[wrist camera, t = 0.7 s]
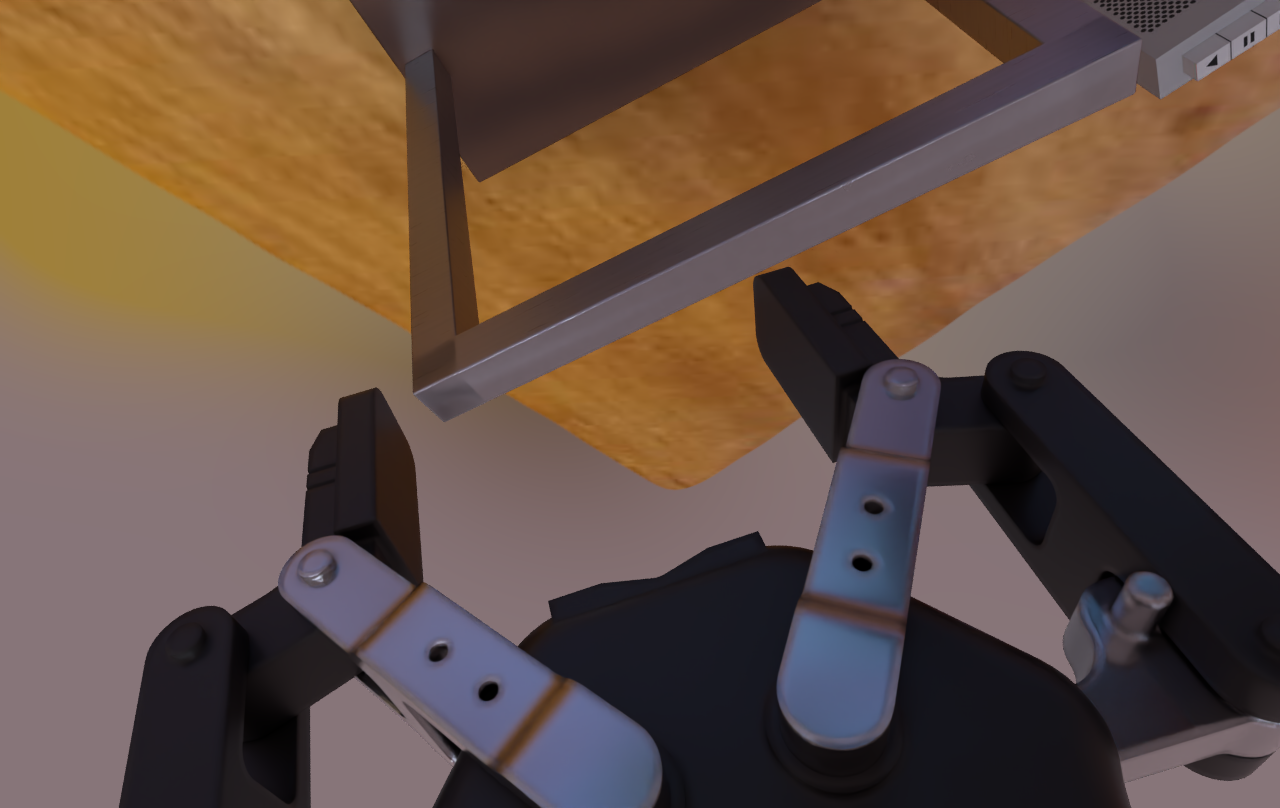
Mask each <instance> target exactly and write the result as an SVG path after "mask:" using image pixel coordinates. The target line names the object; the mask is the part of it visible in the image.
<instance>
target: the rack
mask: <svg viewBox="0 0 1280 808" xmlns="http://www.w3.org/2000/svg"><path fill="white" fill-rule="evenodd" d="M819 1H821V0H350V2H351V3H352V4H353V6H354V7H355V9H356V10H357V11H358V13H359V14H360V16H361V17H362V19H363V20H364V21H365V23H366V24H367V26H368V27H369V28H370V30H371V31H372V33H373V34H374V35H375V37H376V38H377V40H378V41H379V42H380V44H381V45H382V47H383V48H384V50H385V51H386V52H387V54H388V55H389V57H390V58H391V59H392V61H393V62H394V64H395V65H396V66H397V68H398V69H399V71H400V72H401V73H402V75H403V76H404V78H405V85H406V127H407V168H408V209H409V250H410V292H411V333H412V374H413V394H414V396H416V397H417V398H418V399H419V400H420V401H421V402H422V403H423V404H424V405H425V406H427V407H428V408H429V409H430V410H431V411H432V412H433V413H434V414H436V416H438V417H439V418H440V419H441V420H442V421H443V422H446V421H448V420H450V419H452V418H454V417H456V416H459V415H461V414H463V413H465V412H467V411H469V410H471V409H473V408H475V407H477V406H479V405H482V404H484V403H486V402H488V401H490V400H492V399H494V398H496V397H498V396H500V395H502V394H504V393H507V392H509V391H511V390H513V389H515V388H517V387H519V386H521V385H523V384H525V383H528V382H530V381H532V380H534V379H536V378H538V377H540V376H542V375H544V374H546V373H549V372H551V371H553V370H555V369H557V368H559V367H561V366H563V365H565V364H567V363H570V362H572V361H574V360H576V359H578V358H580V357H582V356H584V355H586V354H588V353H591V352H593V351H595V350H597V349H599V348H601V347H603V346H605V345H607V344H609V343H612V342H614V341H616V340H618V339H620V338H622V337H624V336H626V335H628V334H631V333H633V332H635V331H637V330H639V329H641V328H643V327H645V326H647V325H649V324H652V323H654V322H656V321H658V320H660V319H662V318H664V317H666V316H668V315H670V314H673V313H675V312H677V311H679V310H681V309H683V308H685V307H687V306H689V305H691V304H694V303H696V302H698V301H700V300H702V299H704V298H706V297H708V296H710V295H712V294H715V293H717V292H719V291H721V290H723V289H725V288H727V287H729V286H731V285H733V284H736V283H738V282H740V281H742V280H744V279H746V278H748V277H750V276H752V275H754V274H757V273H759V272H761V271H763V270H765V269H767V268H769V267H771V266H773V265H775V264H778V263H780V262H782V261H784V260H786V259H788V258H790V257H792V256H794V255H796V254H799V253H801V252H803V251H805V250H807V249H809V248H811V247H813V246H815V245H817V244H820V243H822V242H824V241H826V240H828V239H830V238H832V237H834V236H836V235H838V234H841V233H843V232H845V231H847V230H849V229H851V228H853V227H855V226H857V225H859V224H862V223H864V222H866V221H868V220H870V219H872V218H874V217H876V216H878V215H880V214H883V213H885V212H887V211H889V210H891V209H893V208H895V207H897V206H899V205H901V204H904V203H906V202H908V201H910V200H912V199H914V198H916V197H918V196H920V195H922V194H925V193H927V192H929V191H931V190H933V189H935V188H937V187H939V186H941V185H943V184H946V183H948V182H950V181H952V180H954V179H956V178H958V177H960V176H962V175H964V174H967V173H969V172H971V171H973V170H975V169H977V168H979V167H981V166H983V165H985V164H988V163H990V162H992V161H994V160H996V159H998V158H1000V157H1002V156H1004V155H1006V154H1009V153H1011V152H1013V151H1015V150H1017V149H1019V148H1021V147H1023V146H1025V145H1027V144H1030V143H1032V142H1034V141H1036V140H1038V139H1040V138H1042V137H1044V136H1046V135H1048V134H1051V133H1053V132H1055V131H1057V130H1059V129H1061V128H1063V127H1065V126H1067V125H1070V124H1072V123H1074V122H1076V121H1078V120H1080V119H1082V118H1084V117H1086V116H1089V115H1091V114H1093V113H1095V112H1097V111H1099V110H1101V109H1103V108H1105V107H1107V106H1110V105H1112V104H1114V103H1116V102H1118V101H1120V100H1122V99H1124V98H1126V97H1128V96H1131V95H1133V94H1134V93H1135V91H1136V84H1137V76H1138V68H1139V61H1140V53H1141V46H1142V39H1141V38H1140V37H1139V36H1137V35H1136V34H1134V33H1132V32H1131V31H1129V30H1127V29H1126V28H1124V27H1123V26H1121V25H1119V24H1118V23H1116V22H1115V21H1113V20H1111V19H1110V18H1108V17H1107V16H1105V15H1103V14H1102V13H1100V12H1099V11H1097V10H1095V9H1094V8H1092V7H1091V6H1089V5H1087V4H1086V3H1084V2H1082V1H1081V0H925V1H927V2H928V3H929V4H930V5H932V6H933V7H934V8H935V9H937V10H938V11H939V12H940V13H942V14H943V15H944V16H945V17H947V18H948V19H949V20H950V21H952V22H953V23H954V24H955V25H957V26H958V27H959V28H960V29H962V30H963V31H964V32H965V33H967V34H968V35H969V36H970V37H972V38H973V39H974V40H975V41H977V42H978V43H979V44H980V45H981V46H983V47H984V48H985V49H986V50H988V51H989V52H990V53H991V54H993V55H994V56H995V57H996V58H998V59H999V60H1000V61H1001V62H1003V63H1004V64H1002V65H1000V66H998V67H996V68H994V69H992V70H990V71H988V72H986V73H984V74H982V75H980V76H978V77H976V78H974V79H972V80H970V81H968V82H966V83H964V84H962V85H960V86H958V87H956V88H954V89H952V90H949V91H947V92H945V93H943V94H941V95H939V96H937V97H935V98H933V99H931V100H929V101H927V102H925V103H923V104H921V105H919V106H917V107H915V108H913V109H911V110H909V111H907V112H905V113H903V114H901V115H899V116H897V117H895V118H893V119H891V120H889V121H887V122H885V123H883V124H881V125H879V126H877V127H875V128H873V129H871V130H869V131H867V132H865V133H863V134H861V135H859V136H857V137H855V138H853V139H851V140H849V141H847V142H845V143H843V144H841V145H839V146H837V147H835V148H833V149H831V150H829V151H827V152H825V153H823V154H821V155H819V156H817V157H815V158H813V159H811V160H809V161H807V162H805V163H803V164H801V165H799V166H797V167H795V168H792V169H790V170H788V171H786V172H784V173H782V174H780V175H778V176H776V177H774V178H772V179H770V180H768V181H766V182H764V183H762V184H760V185H758V186H756V187H754V188H752V189H750V190H748V191H746V192H744V193H742V194H740V195H738V196H736V197H734V198H732V199H730V200H728V201H726V202H724V203H722V204H720V205H718V206H716V207H714V208H712V209H710V210H708V211H706V212H704V213H702V214H700V215H698V216H696V217H694V218H692V219H690V220H688V221H686V222H684V223H682V224H680V225H678V226H676V227H674V228H672V229H670V230H668V231H666V232H664V233H662V234H660V235H658V236H656V237H654V238H652V239H650V240H648V241H646V242H644V243H642V244H640V245H637V246H635V247H633V248H631V249H629V250H627V251H625V252H623V253H621V254H619V255H617V256H615V257H613V258H611V259H609V260H607V261H605V262H603V263H601V264H599V265H597V266H595V267H593V268H591V269H589V270H587V271H585V272H583V273H581V274H579V275H577V276H575V277H573V278H571V279H569V280H567V281H565V282H563V283H561V284H559V285H557V286H555V287H553V288H551V289H549V290H547V291H545V292H543V293H541V294H539V295H537V296H535V297H533V298H531V299H529V300H527V301H525V302H523V303H521V304H519V305H517V306H515V307H513V308H511V309H509V310H507V311H505V312H503V313H501V314H499V315H497V316H495V317H493V318H491V319H489V320H487V321H485V322H483V323H480V324H479V319H478V310H477V301H476V293H475V284H474V275H473V266H472V258H471V249H470V240H469V231H468V223H467V214H466V205H465V196H464V188H463V179H462V170H461V162H460V156H461V158H462V159H463V161H464V162H465V164H466V165H467V166H468V168H469V169H470V171H471V172H472V173H473V175H474V176H475V178H476V179H477V180H478V182H482V181H483V180H485V179H487V178H489V177H491V176H493V175H495V174H497V173H498V172H500V171H502V170H504V169H506V168H508V167H510V166H512V165H513V164H515V163H517V162H519V161H521V160H523V159H525V158H527V157H528V156H530V155H532V154H534V153H536V152H538V151H540V150H542V149H543V148H545V147H547V146H549V145H551V144H553V143H555V142H557V141H558V140H560V139H562V138H564V137H566V136H568V135H570V134H572V133H573V132H575V131H577V130H579V129H581V128H583V127H585V126H587V125H589V124H590V123H592V122H594V121H596V120H598V119H600V118H602V117H604V116H605V115H607V114H609V113H611V112H613V111H615V110H617V109H619V108H620V107H622V106H624V105H626V104H628V103H630V102H632V101H634V100H635V99H637V98H639V97H641V96H643V95H645V94H647V93H649V92H650V91H652V90H654V89H656V88H658V87H660V86H662V85H664V84H665V83H667V82H669V81H671V80H673V79H675V78H677V77H679V76H680V75H682V74H684V73H686V72H688V71H690V70H692V69H694V68H695V67H697V66H699V65H701V64H703V63H705V62H707V61H709V60H711V59H712V58H714V57H716V56H718V55H720V54H722V53H724V52H726V51H727V50H729V49H731V48H733V47H735V46H737V45H739V44H741V43H742V42H744V41H746V40H748V39H750V38H752V37H754V36H756V35H757V34H759V33H761V32H763V31H765V30H767V29H769V28H771V27H772V26H774V25H776V24H778V23H780V22H782V21H784V20H786V19H787V18H789V17H791V16H793V15H795V14H797V13H799V12H801V11H802V10H804V9H806V8H808V7H810V6H812V5H814V4H816V3H817V2H819Z"/></svg>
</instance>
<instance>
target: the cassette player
mask: <svg viewBox="0 0 1280 808" xmlns="http://www.w3.org/2000/svg"><path fill="white" fill-rule="evenodd" d="M1081 1H1082V2H1084V3H1086V4H1087V5H1089V6H1091V7H1092V8H1094V9H1095V10H1097V11H1099V12H1100V13H1102V14H1103V15H1105V16H1107V17H1108V18H1110V19H1111V20H1113V21H1115V22H1116V23H1118V24H1119V25H1121V26H1123V27H1124V28H1126V29H1127V30H1129V31H1131V32H1132V33H1134V34H1136V35H1137V36H1139V37H1140V38H1141V39H1142V46H1141V53H1140V61H1139V68H1138V76H1137V84H1139V85H1140V86H1142V87H1143V88H1145V89H1146V90H1147V91H1149V92H1150V93H1152V94H1153V95H1155V96H1156V97H1158V98H1159V99H1162V98H1164V97H1165V96H1167V95H1168V94H1170V93H1171V92H1173V91H1174V90H1176V89H1178V88H1179V87H1181V86H1182V85H1184V84H1185V83H1187V82H1188V81H1190V80H1192V79H1195V80H1196V81H1199V80H1200V79H1202V78H1204V77H1205V76H1207V75H1208V74H1210V73H1211V72H1213V71H1214V70H1216V69H1218V68H1219V67H1221V66H1222V65H1224V64H1225V63H1227V62H1229V61H1230V60H1232V59H1233V58H1235V57H1236V56H1238V55H1240V54H1241V53H1243V52H1244V51H1246V50H1247V49H1249V48H1250V47H1252V46H1254V45H1255V44H1257V43H1258V42H1260V41H1261V40H1263V39H1265V38H1266V37H1268V36H1269V35H1271V34H1272V33H1274V32H1276V31H1277V30H1279V29H1280V0H1081Z"/></svg>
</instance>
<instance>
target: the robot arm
mask: <svg viewBox="0 0 1280 808" xmlns="http://www.w3.org/2000/svg"><path fill="white" fill-rule="evenodd" d="M753 290H754V307H755V324H756V337H757V342H758V346H759V349H760V352H761V355H762V357H763V359H764V361H765V363H766V364H767V366H768V367H769V369H770V370H771V372H772V373H773V374H774V376H775V377H776V379H777V380H778V382H779V383H780V385H781V386H782V388H783V389H784V391H785V392H786V394H787V395H788V397H789V398H790V400H791V401H792V403H793V404H794V406H795V407H796V409H797V410H798V412H799V413H800V415H801V416H802V418H803V419H804V421H805V422H806V424H807V425H808V427H809V428H810V430H811V431H812V433H813V434H814V436H815V437H816V439H817V440H818V442H819V443H820V444H821V446H822V448H823V449H824V451H825V452H826V454H827V455H828V457H829V458H830V459H831V461H832V462H833V463H834V462H837V463H836V467H835V470H834V475H833V478H832V482H831V486H830V490H829V494H828V497H827V502H826V505H825V509H824V513H823V517H822V520H821V524H820V528H819V532H818V536H817V540H816V543H815V547H814V551H813V550H809V549H805V548H800V547H793V546H765V544H764V542H763V540H762V538H761V536H760V534H759V532H758V531H757V532H754V533H751V534H748V535H745V536H742V537H739V538H736V539H733V540H730V541H727V542H724V543H721V544H718V545H715V546H712V547H709V548H707V549H705V550H704V551H702V552H700V553H699V554H697V555H695V556H694V557H692V558H690V559H689V560H687V561H686V562H684V563H682V564H681V565H679V566H677V567H676V568H674V569H672V570H671V571H669V572H667V573H666V574H664V575H662V576H660V577H657V578H651V579H641V580H630V581H621V582H610V583H601V584H598V585H595V586H592V587H589V588H586V589H583V590H580V591H577V592H574V593H571V594H568V595H565V596H562V597H559V598H556V599H553V600H550V601H548V602H549V607H550V612H551V616H552V618H550V619H549V620H547V621H545V622H544V623H542V624H541V625H540V626H539V627H537V628H536V629H535V630H533V631H532V632H531V633H530V634H529V635H528V636H527V637H526V638H525V639H524V640H523V641H522V642H521V643H520V644H519V646H516V645H515V644H513V643H512V642H510V641H509V640H508V639H506V638H505V637H503V636H502V635H500V634H499V633H498V632H496V631H494V630H493V629H492V628H490V627H489V626H488V625H486V624H485V623H483V622H482V621H480V620H479V619H478V618H476V617H475V616H473V615H472V614H470V613H469V612H468V611H466V610H464V609H463V608H462V607H460V606H459V605H457V604H456V603H455V602H453V601H452V600H450V599H449V598H447V597H446V596H445V595H443V594H442V593H440V592H439V591H438V590H436V589H435V588H433V587H432V586H430V585H428V584H426V583H424V582H423V569H422V556H421V541H420V527H419V513H418V499H417V486H416V472H415V463H414V459H413V455H412V452H411V449H410V446H409V444H408V441H407V440H406V437H405V435H404V434H403V432H402V430H401V428H400V426H399V424H398V423H397V420H396V418H395V417H394V415H393V413H392V411H391V409H390V407H389V405H388V403H387V401H386V400H385V398H384V396H383V394H382V393H381V391H380V390H379V389H378V388H373V389H369V390H366V391H363V392H359V393H356V394H353V395H349V396H346V397H342V398H340V399H339V403H338V424H337V425H336V426H333V427H330V428H326V429H323V430H321V431H320V433H319V435H318V437H317V438H316V440H315V442H314V444H313V445H312V448H311V449H310V451H309V461H308V473H309V474H308V475H307V485H306V487H307V491H306V498H305V510H304V522H303V534H302V547H301V548H300V549H299V550H298V551H296V552H295V553H294V554H293V555H292V556H291V557H290V558H289V560H288V561H287V562H286V563H285V565H284V567H283V568H282V571H281V573H280V576H279V580H278V586H277V587H276V588H274V589H273V590H272V591H270V592H269V593H267V594H266V595H264V596H263V597H261V598H259V599H258V600H256V601H254V602H253V603H251V604H249V605H248V606H246V607H244V608H243V609H241V610H239V611H237V612H236V613H234V614H233V615H230V614H229V613H228V612H227V611H226V610H225V609H223V608H220V607H217V606H205V607H200V608H196V609H193V610H191V611H189V612H186V613H185V614H183V615H181V616H179V617H178V618H177V619H175V620H174V621H172V622H171V623H170V624H169V625H168V626H166V627H165V628H164V629H163V630H162V631H161V632H160V633H159V635H158V636H157V637H156V639H155V640H154V642H153V643H152V645H151V646H150V648H149V651H148V653H147V656H146V660H145V665H144V671H143V677H142V682H141V688H140V693H139V698H138V704H137V710H136V715H135V721H134V727H133V732H132V738H131V743H130V749H129V755H128V760H127V765H126V771H125V776H124V782H123V788H122V793H121V799H120V804H119V808H311V805H310V803H311V800H310V799H311V797H310V706H311V705H313V704H314V703H316V702H317V701H319V700H320V699H322V698H323V697H325V696H326V695H328V694H329V693H331V692H332V691H334V690H336V689H337V688H338V687H340V686H342V685H343V684H344V683H346V682H348V681H349V680H351V679H352V678H355V679H356V680H357V681H359V682H360V683H361V684H362V685H363V686H364V687H366V688H367V689H368V690H369V691H370V692H371V693H372V694H373V695H375V696H376V697H377V698H378V699H379V700H380V701H382V702H383V703H384V704H385V705H386V706H387V707H388V708H389V709H391V710H392V711H393V712H394V713H395V714H396V715H398V716H399V717H400V718H401V719H402V720H403V721H404V722H406V723H407V724H408V725H409V726H410V727H411V728H412V729H413V730H415V731H416V732H417V733H418V734H419V735H420V736H421V737H422V738H423V739H424V740H425V741H426V742H427V743H428V744H429V745H430V746H431V747H432V748H433V749H434V750H435V751H436V752H437V753H438V754H439V755H440V756H441V757H442V758H443V759H444V760H445V761H446V762H447V763H449V764H450V765H451V766H452V767H453V768H452V770H451V772H450V774H449V776H448V778H447V780H446V782H445V784H444V786H443V788H442V790H441V792H440V794H439V796H438V798H437V800H436V802H435V804H434V806H433V808H1131V806H1130V802H1129V799H1128V795H1127V792H1126V788H1125V784H1124V783H1126V782H1130V781H1133V780H1136V779H1139V778H1143V777H1146V776H1149V775H1153V774H1156V773H1159V772H1163V771H1166V770H1169V769H1172V768H1176V767H1179V766H1182V765H1184V766H1185V767H1187V768H1189V769H1190V770H1192V771H1194V772H1196V773H1198V774H1200V775H1202V776H1206V777H1209V778H1212V779H1217V780H1224V781H1232V780H1239V779H1242V778H1245V777H1247V776H1249V775H1250V774H1252V773H1253V772H1254V771H1255V770H1256V769H1257V768H1258V767H1259V766H1260V765H1261V764H1262V763H1264V762H1265V761H1266V760H1267V759H1268V758H1269V757H1270V756H1271V755H1272V754H1273V753H1274V752H1275V751H1276V750H1277V749H1278V748H1280V574H1279V573H1278V572H1276V570H1275V569H1273V568H1272V567H1271V566H1270V565H1269V564H1268V563H1267V562H1266V561H1265V560H1264V559H1263V558H1262V557H1261V556H1260V555H1259V554H1258V553H1257V552H1256V551H1255V550H1254V549H1253V548H1252V547H1251V546H1249V545H1248V544H1247V543H1246V542H1245V541H1244V540H1243V539H1242V538H1241V537H1240V536H1239V535H1238V534H1237V533H1236V532H1235V531H1234V530H1233V529H1232V528H1231V527H1230V526H1229V525H1228V524H1227V523H1226V522H1224V520H1223V519H1221V518H1220V517H1219V516H1218V515H1217V514H1216V513H1215V512H1214V511H1213V510H1212V509H1211V508H1210V507H1209V506H1208V505H1207V504H1206V503H1205V502H1204V501H1203V500H1202V499H1201V498H1200V497H1199V496H1198V495H1197V494H1195V493H1194V492H1193V491H1192V490H1191V489H1190V488H1189V487H1188V486H1187V485H1186V484H1185V483H1184V482H1183V481H1182V480H1181V479H1180V478H1179V477H1178V476H1177V475H1176V474H1175V473H1174V472H1173V471H1172V470H1170V468H1169V467H1167V466H1166V465H1165V464H1164V463H1163V462H1162V461H1161V460H1160V459H1159V458H1158V457H1157V456H1156V455H1155V454H1154V453H1153V452H1152V451H1151V450H1150V449H1149V448H1148V447H1147V446H1146V445H1145V444H1144V443H1143V442H1141V441H1140V440H1139V439H1138V438H1137V437H1136V436H1135V435H1134V434H1133V433H1132V432H1131V431H1130V430H1129V429H1128V428H1127V427H1126V426H1125V425H1124V424H1123V423H1122V422H1121V421H1120V420H1119V419H1117V417H1116V416H1114V415H1113V414H1112V413H1111V412H1110V411H1109V410H1108V409H1107V408H1106V407H1105V406H1104V405H1103V404H1102V403H1101V402H1100V401H1099V400H1098V399H1097V398H1096V397H1095V396H1094V395H1093V394H1091V392H1090V391H1088V390H1087V389H1086V388H1085V387H1084V386H1083V385H1082V384H1081V383H1080V382H1079V381H1078V380H1077V379H1076V378H1075V377H1074V376H1073V375H1072V374H1071V373H1070V372H1069V371H1068V370H1067V369H1065V367H1064V366H1062V365H1061V364H1060V363H1059V362H1057V361H1056V360H1054V359H1052V358H1050V357H1048V356H1046V355H1043V354H1040V353H1035V352H1029V351H1012V352H1006V353H1003V354H1000V355H998V356H996V357H994V358H993V359H992V360H991V361H990V362H989V363H988V365H987V367H986V370H985V375H984V376H971V377H970V376H969V377H953V378H943V377H938V376H937V374H936V373H935V372H934V371H932V369H930V368H929V367H927V366H925V365H923V364H921V363H919V362H915V361H911V360H905V359H899V358H898V357H897V356H896V355H895V354H894V353H893V352H892V351H891V349H890V348H889V347H888V346H887V345H886V344H885V343H884V342H883V341H882V339H881V338H880V337H879V336H878V335H877V334H876V333H875V332H874V331H873V329H872V328H871V327H870V326H869V325H868V324H867V323H866V322H865V321H863V320H862V317H861V316H860V315H859V314H858V313H857V312H856V311H855V309H854V310H853V309H852V306H851V305H850V304H849V303H848V302H847V301H846V299H845V298H844V297H843V296H842V295H841V294H840V293H839V292H837V291H835V290H833V289H831V288H829V287H827V286H825V285H823V284H821V283H819V282H818V283H814V284H811V285H808V286H807V285H806V284H805V283H804V282H803V281H802V280H801V278H800V277H799V276H798V275H797V274H796V273H795V271H794V270H793V269H792V268H790V267H786V268H782V269H779V270H775V271H772V272H769V273H765V274H762V275H758V276H756V277H755V278H754V282H753ZM952 485H970V487H971V488H972V489H973V491H974V492H975V493H976V495H977V496H978V497H979V499H980V500H981V501H982V503H983V504H984V506H985V507H986V508H987V510H988V511H989V512H990V514H991V515H992V516H993V518H994V519H995V520H996V522H997V523H998V524H999V526H1000V527H1001V528H1002V530H1003V531H1004V532H1005V534H1006V535H1007V537H1008V538H1009V539H1010V540H1011V542H1012V543H1013V544H1014V546H1015V547H1016V549H1017V550H1018V551H1019V552H1020V554H1021V555H1022V557H1023V558H1024V559H1025V561H1026V562H1027V563H1028V565H1029V566H1030V567H1031V569H1032V570H1033V572H1034V573H1035V574H1036V576H1037V577H1038V578H1039V580H1040V581H1041V582H1042V584H1043V585H1044V586H1045V588H1046V589H1047V590H1048V592H1049V593H1050V594H1051V596H1052V597H1053V599H1054V600H1055V601H1056V603H1057V604H1058V605H1059V607H1060V608H1061V609H1062V611H1063V612H1064V613H1065V615H1066V616H1067V617H1068V619H1069V620H1070V621H1069V623H1068V625H1067V628H1066V630H1065V632H1064V635H1063V650H1064V652H1065V655H1066V658H1067V660H1068V662H1069V664H1070V666H1071V667H1072V669H1073V671H1074V675H1075V677H1076V684H1074V683H1073V682H1072V681H1070V679H1069V678H1068V677H1066V676H1065V675H1064V674H1062V673H1061V672H1059V671H1058V670H1057V669H1055V668H1053V667H1052V666H1050V665H1048V664H1047V663H1045V662H1043V661H1042V660H1040V659H1038V658H1036V657H1034V656H1032V655H1030V654H1028V653H1025V652H1024V651H1022V650H1019V649H1017V648H1015V647H1013V646H1011V645H1009V644H1007V643H1005V642H1003V641H1001V640H999V639H997V638H995V637H993V636H991V635H989V634H987V633H985V632H983V631H981V630H978V629H976V628H974V627H972V626H970V625H968V624H966V623H964V622H962V621H960V620H958V619H956V618H954V617H952V616H950V615H948V614H946V613H944V612H941V611H939V610H938V609H936V608H933V607H931V606H929V605H927V604H925V603H923V602H921V601H919V600H917V599H915V598H913V597H911V589H912V582H913V576H914V569H915V562H916V555H917V548H918V542H919V535H920V528H921V522H922V515H923V508H924V502H925V495H926V488H927V487H928V486H952Z"/></svg>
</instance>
